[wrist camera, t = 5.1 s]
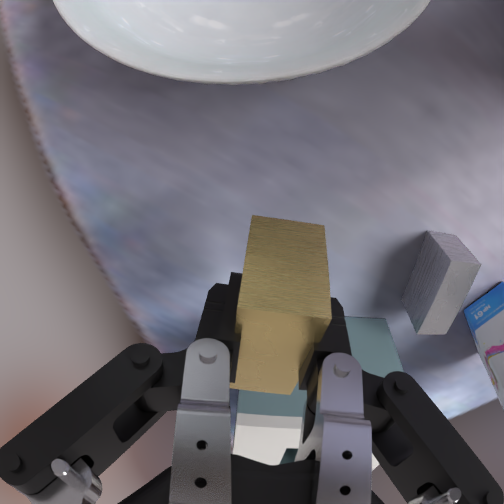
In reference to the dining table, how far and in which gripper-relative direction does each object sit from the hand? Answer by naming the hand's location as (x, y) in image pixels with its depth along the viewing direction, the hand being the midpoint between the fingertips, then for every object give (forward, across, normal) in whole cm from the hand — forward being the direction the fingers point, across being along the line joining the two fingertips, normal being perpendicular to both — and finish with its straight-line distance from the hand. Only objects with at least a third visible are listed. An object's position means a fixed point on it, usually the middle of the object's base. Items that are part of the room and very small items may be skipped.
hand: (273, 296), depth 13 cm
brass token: (+1, 0, 0) cm, 1 cm away
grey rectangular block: (+8, -12, +3) cm, 15 cm away
